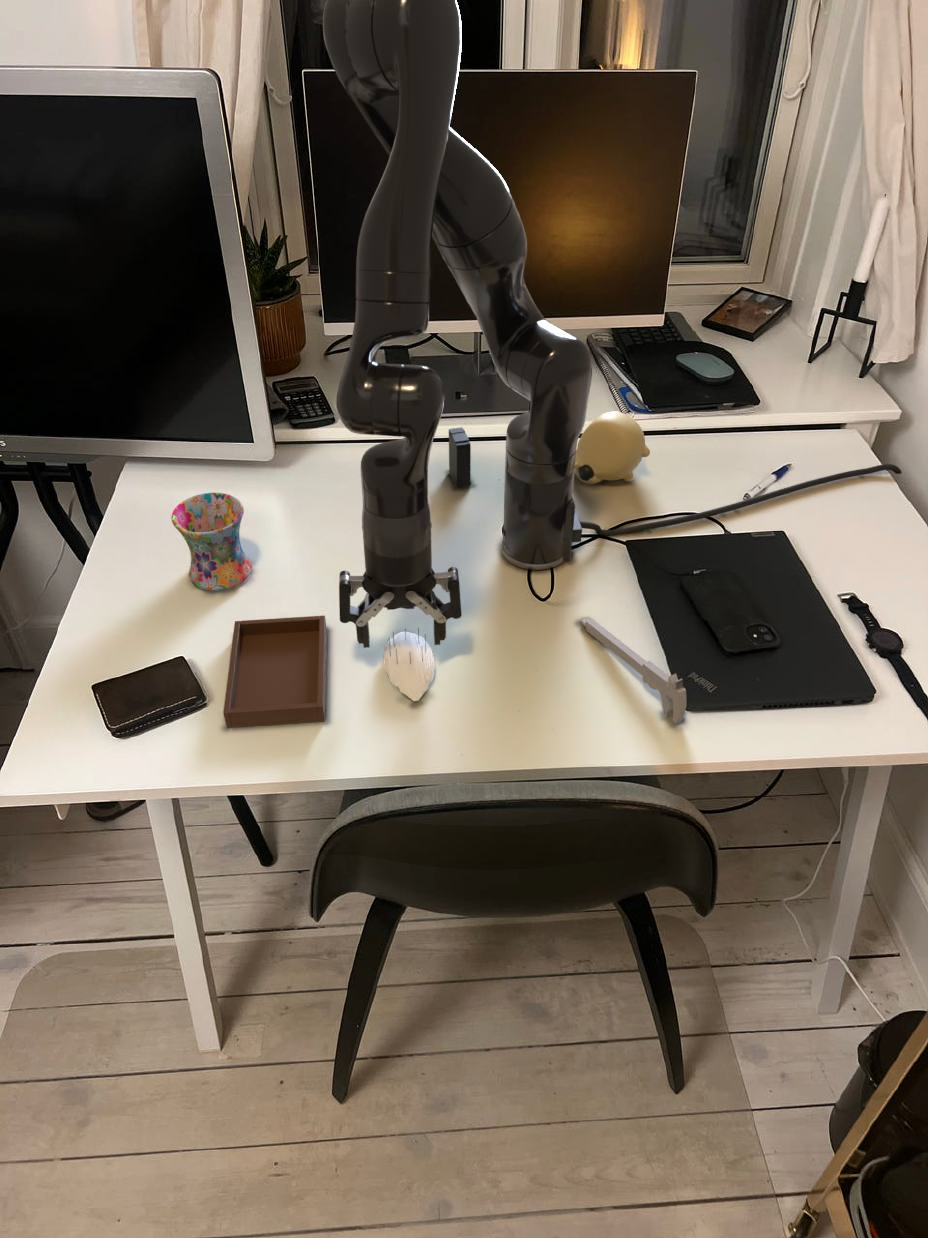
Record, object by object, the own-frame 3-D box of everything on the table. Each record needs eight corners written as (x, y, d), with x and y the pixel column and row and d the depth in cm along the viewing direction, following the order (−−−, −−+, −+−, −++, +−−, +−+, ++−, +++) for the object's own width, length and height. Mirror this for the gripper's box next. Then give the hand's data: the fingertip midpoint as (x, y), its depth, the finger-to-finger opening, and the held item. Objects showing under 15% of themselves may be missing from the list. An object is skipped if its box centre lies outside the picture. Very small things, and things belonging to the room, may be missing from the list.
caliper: (682, 723, 112) (691, 686, 108) (675, 727, 112) (683, 689, 108) (585, 620, 126) (589, 583, 122) (578, 623, 125) (582, 586, 121)
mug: (253, 594, 130) (240, 531, 123) (183, 598, 129) (166, 535, 122) (258, 540, 139) (247, 478, 132) (193, 544, 138) (178, 482, 131)
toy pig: (597, 477, 157) (551, 441, 152) (652, 427, 152) (606, 387, 147) (608, 511, 150) (560, 473, 145) (666, 459, 144) (619, 418, 139)
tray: (326, 630, 125) (324, 615, 123) (325, 721, 113) (322, 706, 111) (238, 635, 124) (234, 620, 122) (226, 728, 112) (223, 713, 110)
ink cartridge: (471, 486, 149) (471, 442, 143) (456, 489, 148) (456, 444, 143) (463, 469, 152) (463, 425, 147) (449, 471, 152) (448, 427, 147)
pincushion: (379, 638, 123) (376, 605, 120) (426, 632, 124) (425, 599, 120) (390, 706, 115) (387, 672, 111) (441, 699, 115) (440, 666, 112)
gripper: (331, 557, 103) (342, 666, 113) (464, 552, 103) (462, 660, 114) (333, 516, 108) (343, 623, 119) (459, 512, 109) (458, 619, 120)
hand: (402, 641), depth 117 cm, fingers open, 8 cm apart
